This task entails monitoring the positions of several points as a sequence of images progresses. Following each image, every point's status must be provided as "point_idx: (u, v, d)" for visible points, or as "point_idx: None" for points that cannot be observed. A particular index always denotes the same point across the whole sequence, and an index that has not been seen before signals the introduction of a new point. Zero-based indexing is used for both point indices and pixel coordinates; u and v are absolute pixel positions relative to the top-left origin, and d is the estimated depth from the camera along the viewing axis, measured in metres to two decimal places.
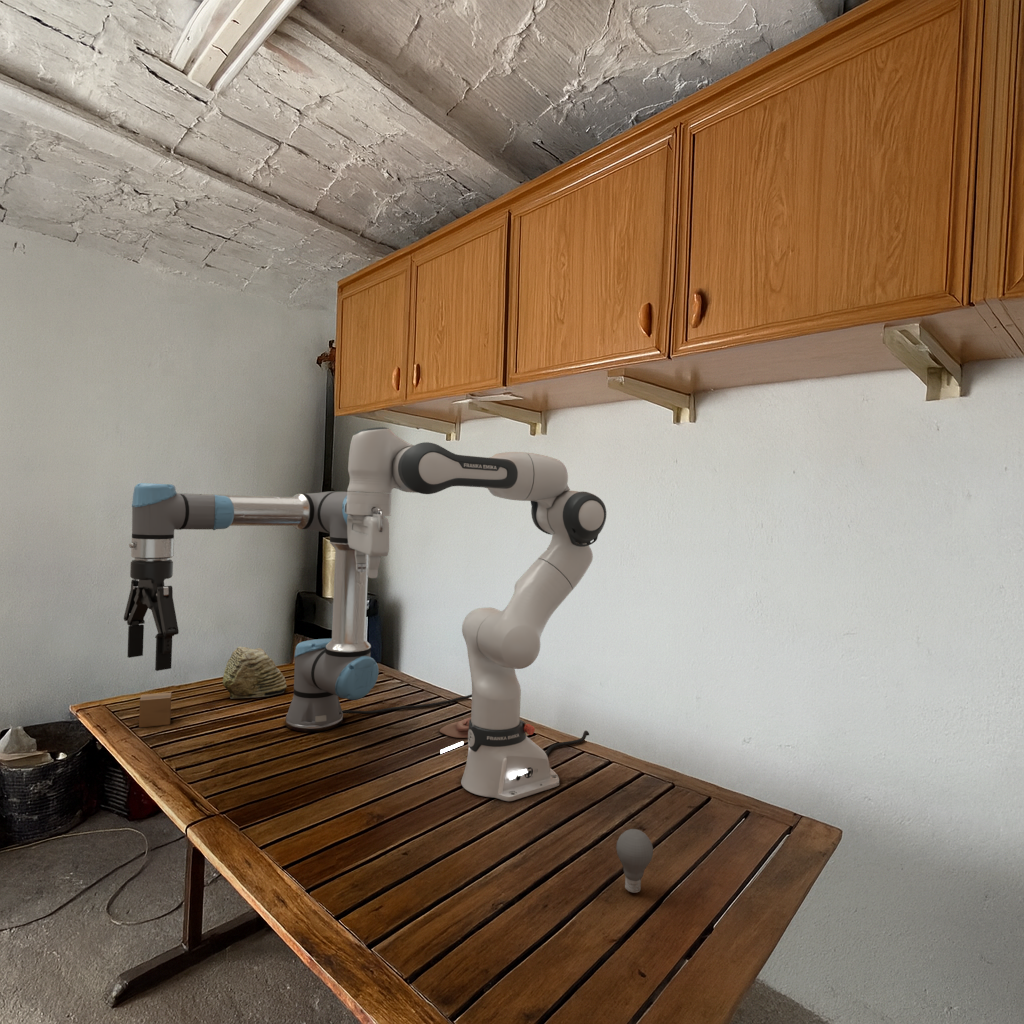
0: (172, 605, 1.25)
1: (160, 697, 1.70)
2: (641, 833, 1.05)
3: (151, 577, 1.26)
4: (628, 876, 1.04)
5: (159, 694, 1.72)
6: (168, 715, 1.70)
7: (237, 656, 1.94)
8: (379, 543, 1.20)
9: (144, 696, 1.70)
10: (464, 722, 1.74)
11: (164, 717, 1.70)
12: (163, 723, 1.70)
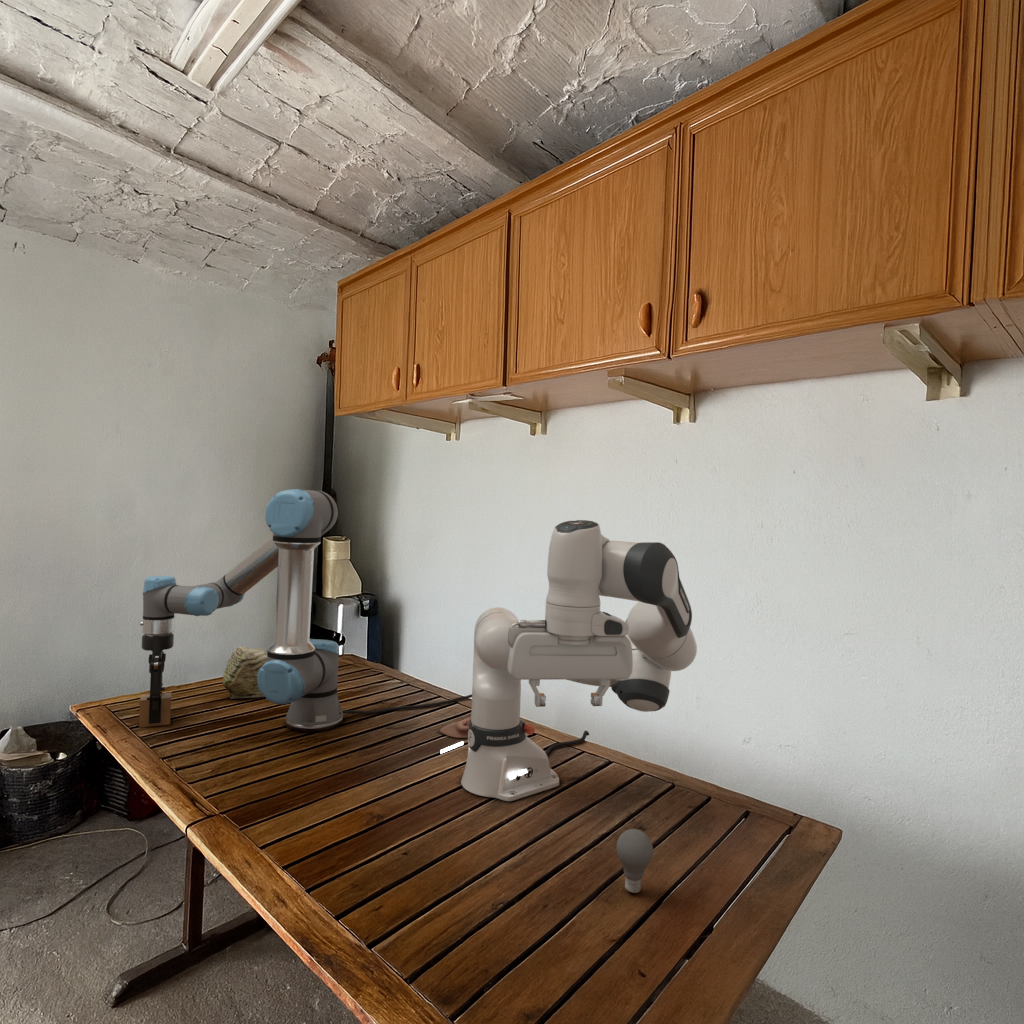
0: (159, 677, 1.66)
1: None
2: (641, 833, 1.05)
3: (150, 649, 1.67)
4: (628, 876, 1.04)
5: None
6: (168, 715, 1.70)
7: (237, 656, 1.94)
8: (509, 661, 1.01)
9: (144, 696, 1.70)
10: (464, 722, 1.74)
11: (164, 717, 1.70)
12: (163, 723, 1.70)
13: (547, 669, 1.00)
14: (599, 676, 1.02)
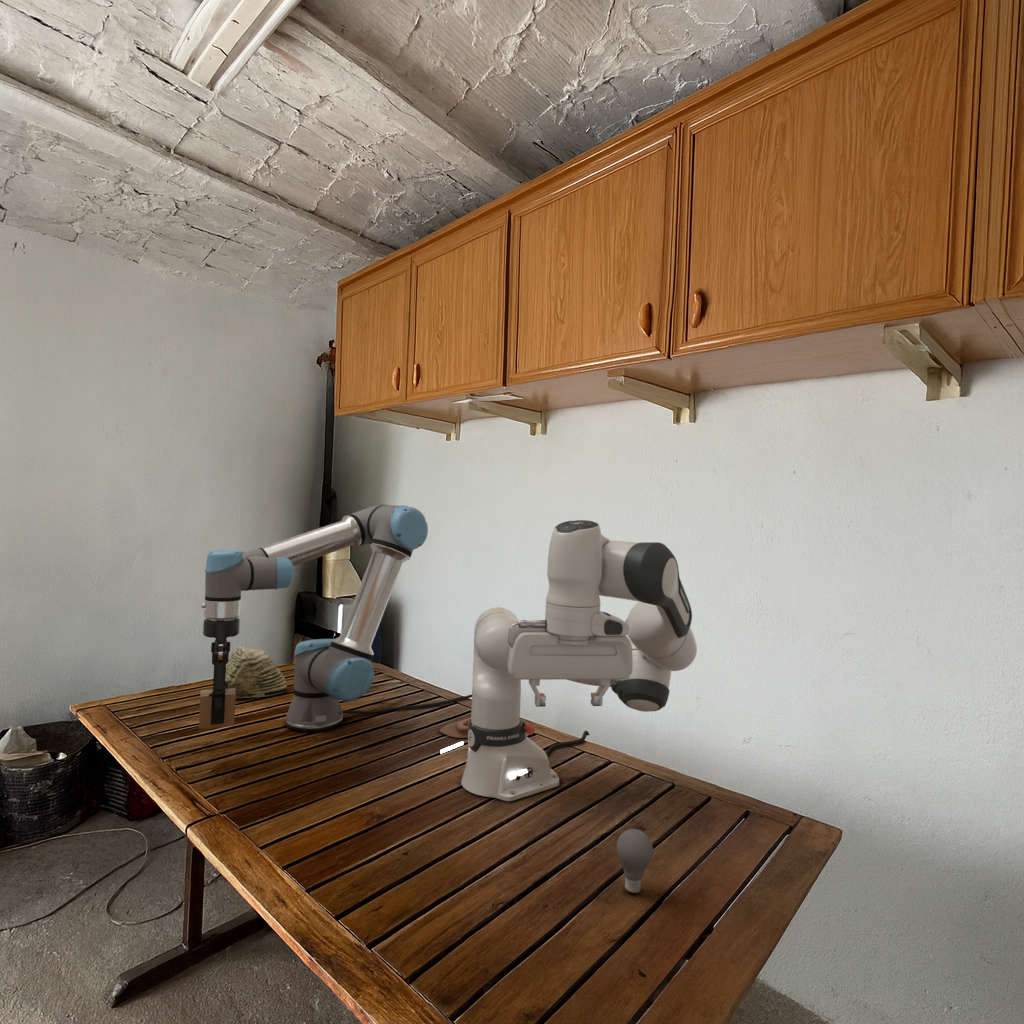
0: (224, 669, 1.39)
1: None
2: (641, 833, 1.05)
3: (214, 635, 1.41)
4: (628, 876, 1.04)
5: None
6: (232, 715, 1.44)
7: (237, 656, 1.94)
8: (509, 661, 1.01)
9: (205, 692, 1.44)
10: (464, 722, 1.74)
11: (228, 717, 1.43)
12: (226, 724, 1.43)
13: (547, 669, 1.00)
14: (599, 676, 1.02)
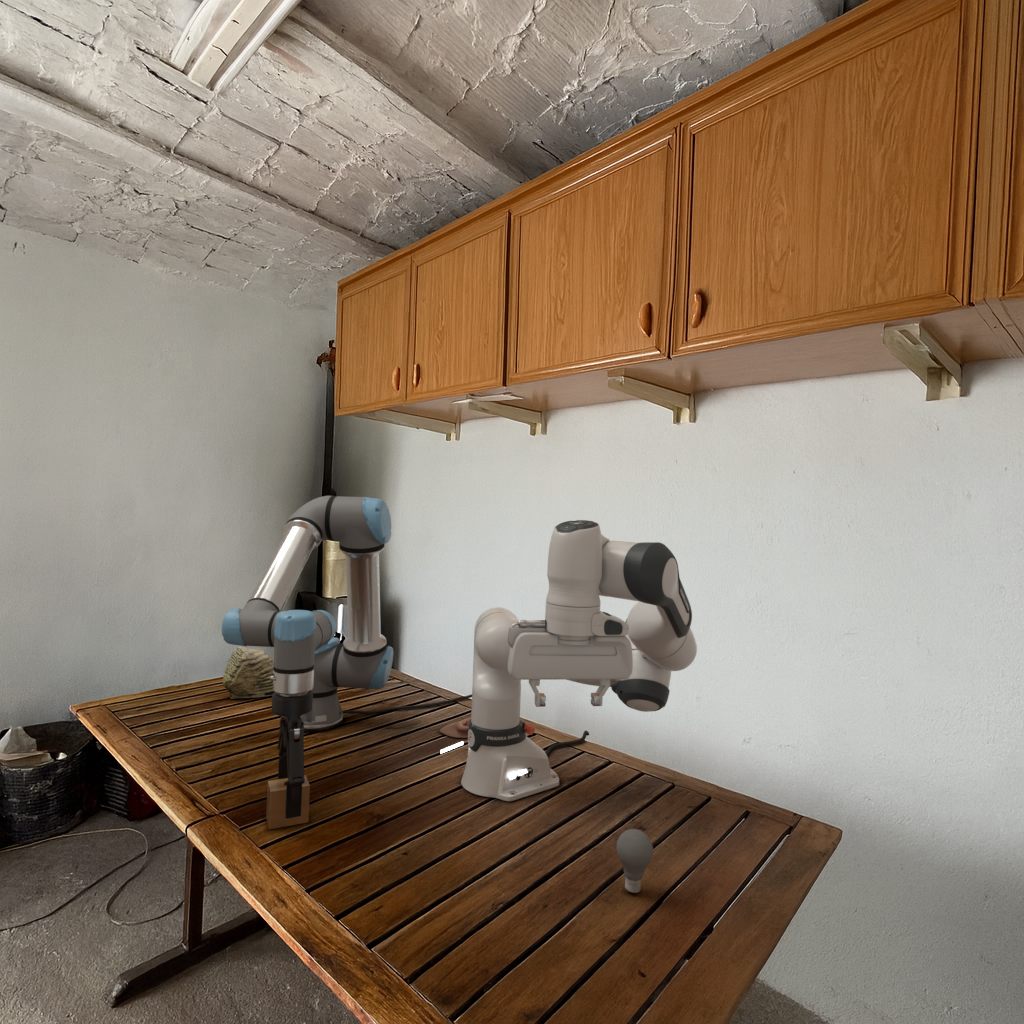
0: (302, 750, 1.17)
1: None
2: (641, 833, 1.05)
3: (287, 714, 1.20)
4: (628, 876, 1.04)
5: None
6: (306, 810, 1.23)
7: (237, 656, 1.94)
8: (509, 661, 1.01)
9: (273, 783, 1.23)
10: (464, 722, 1.74)
11: (301, 813, 1.23)
12: (300, 821, 1.22)
13: (547, 669, 1.00)
14: (599, 676, 1.02)
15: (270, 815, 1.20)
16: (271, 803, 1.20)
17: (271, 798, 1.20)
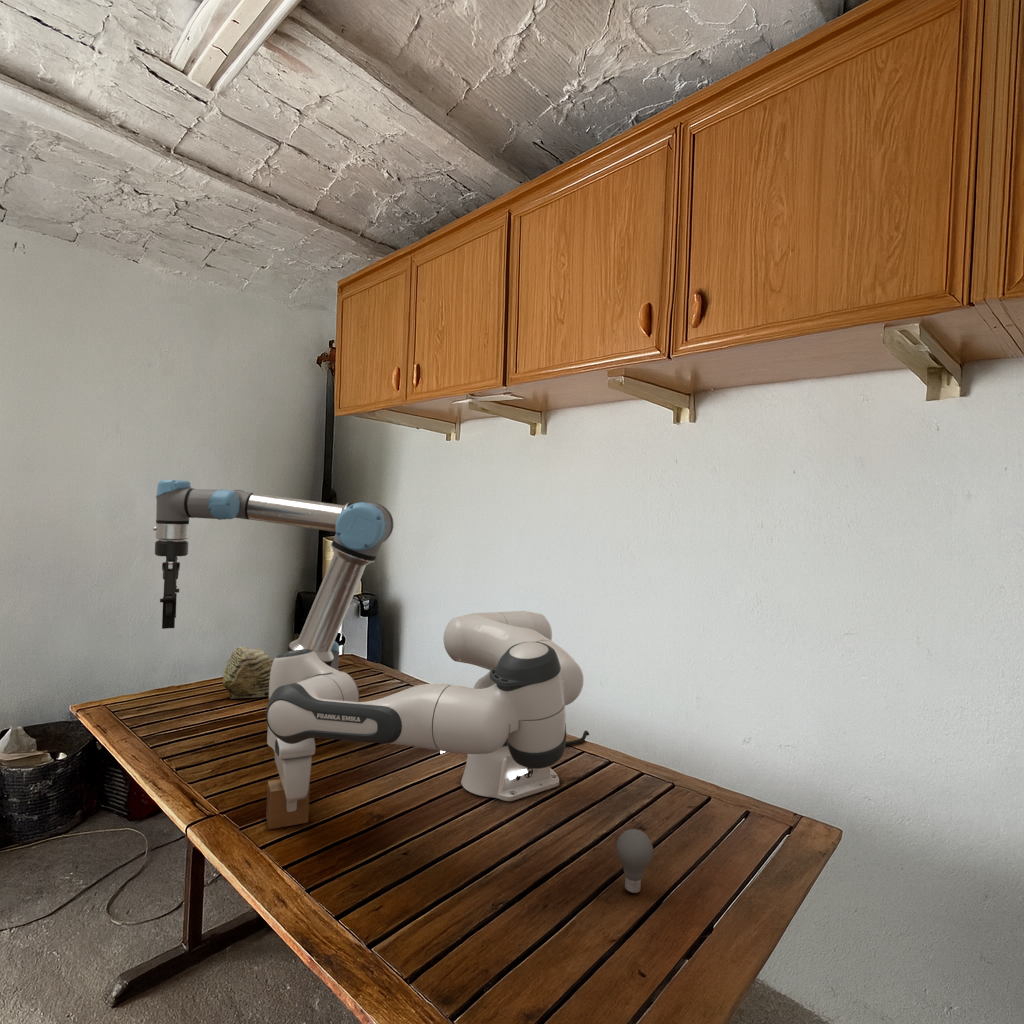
0: (174, 577, 1.56)
1: None
2: (641, 833, 1.05)
3: (164, 554, 1.58)
4: (628, 876, 1.04)
5: None
6: (306, 810, 1.23)
7: (237, 656, 1.94)
8: None
9: (273, 783, 1.23)
10: None
11: (301, 813, 1.23)
12: (300, 821, 1.22)
13: (277, 763, 1.26)
14: (283, 787, 1.19)
15: (270, 815, 1.20)
16: (271, 803, 1.20)
17: (271, 798, 1.20)
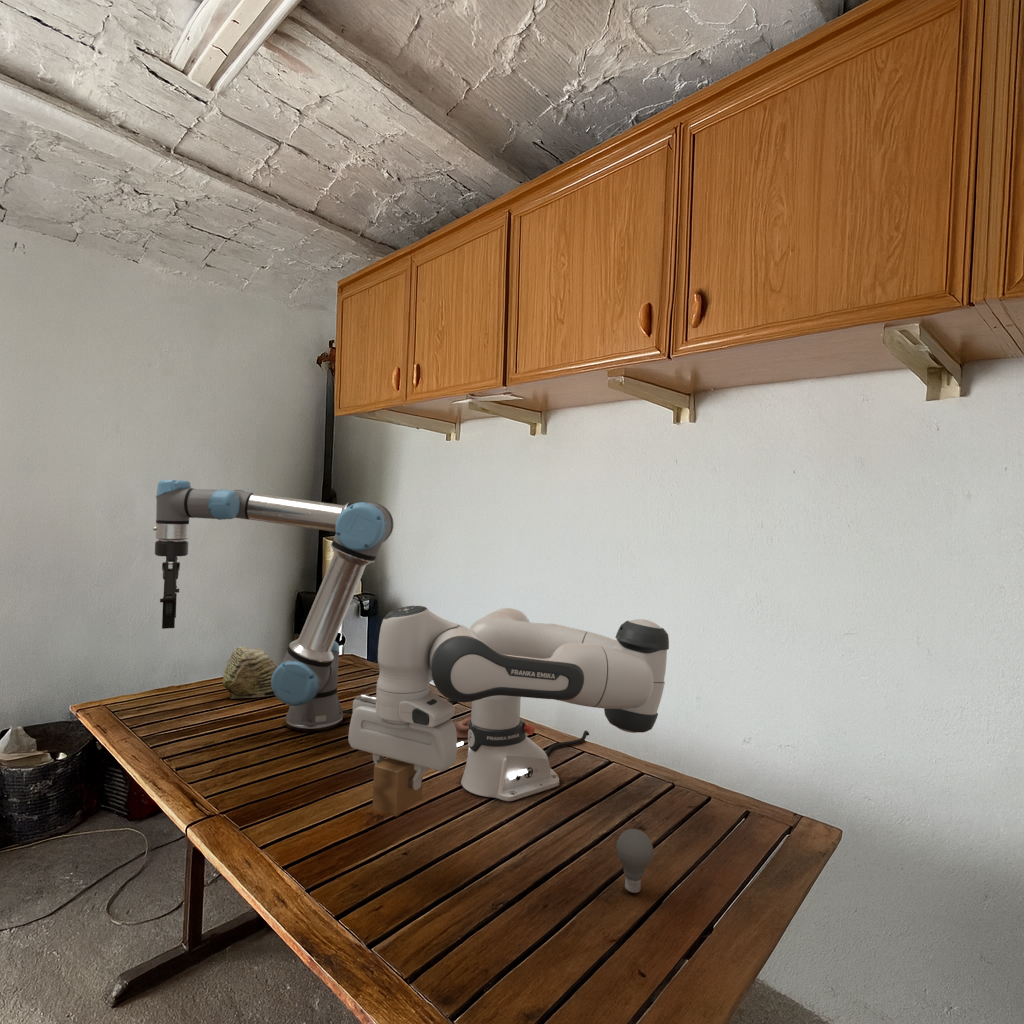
0: (174, 577, 1.56)
1: None
2: (641, 833, 1.05)
3: (164, 554, 1.58)
4: (628, 876, 1.04)
5: None
6: None
7: (237, 656, 1.94)
8: None
9: (385, 766, 1.05)
10: (464, 722, 1.74)
11: (417, 790, 1.08)
12: (416, 800, 1.08)
13: (374, 744, 1.07)
14: (416, 762, 1.04)
15: (397, 800, 1.03)
16: (398, 786, 1.03)
17: (398, 780, 1.03)
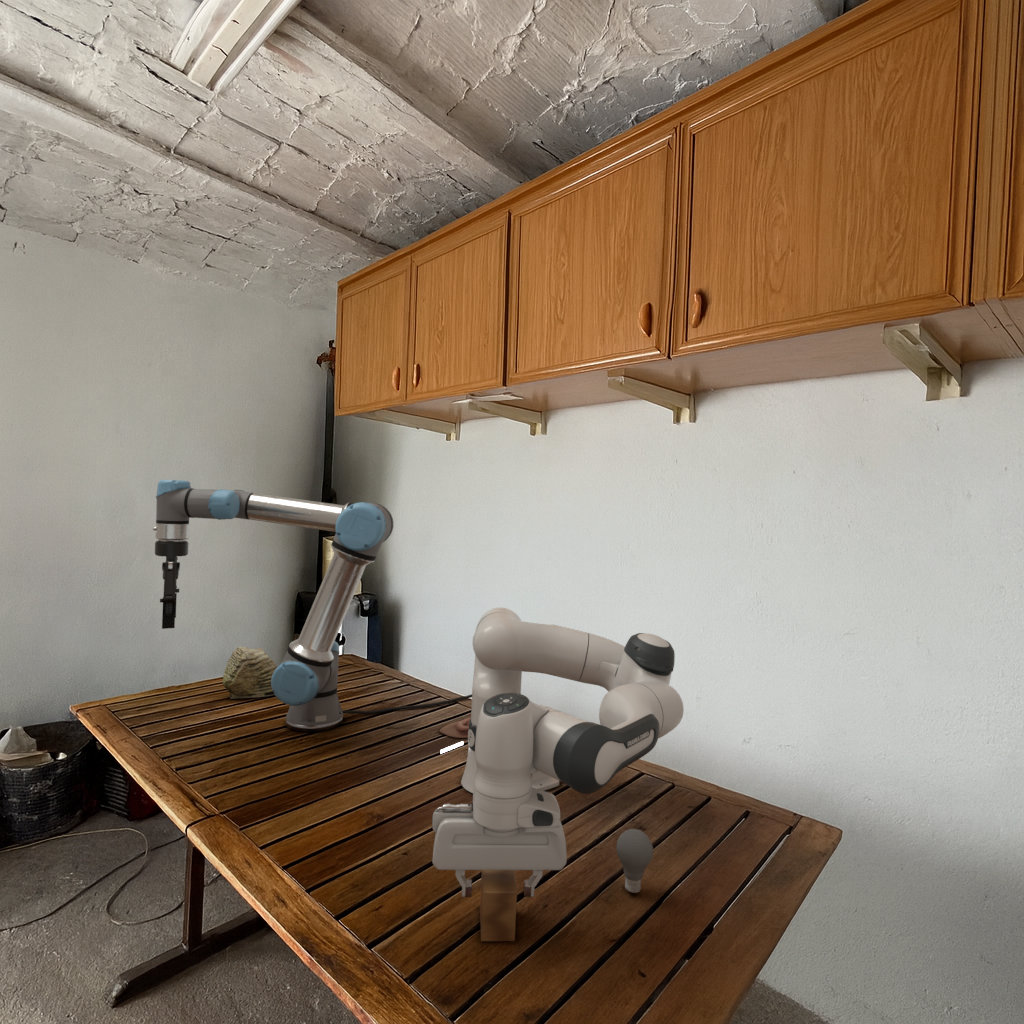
0: (174, 577, 1.56)
1: (508, 872, 0.97)
2: (641, 833, 1.05)
3: (164, 554, 1.58)
4: (628, 876, 1.04)
5: (490, 874, 0.96)
6: None
7: (237, 656, 1.94)
8: None
9: (495, 888, 0.93)
10: (464, 722, 1.74)
11: None
12: None
13: (472, 859, 0.94)
14: (529, 867, 0.94)
15: (515, 922, 0.93)
16: None
17: (516, 900, 0.93)
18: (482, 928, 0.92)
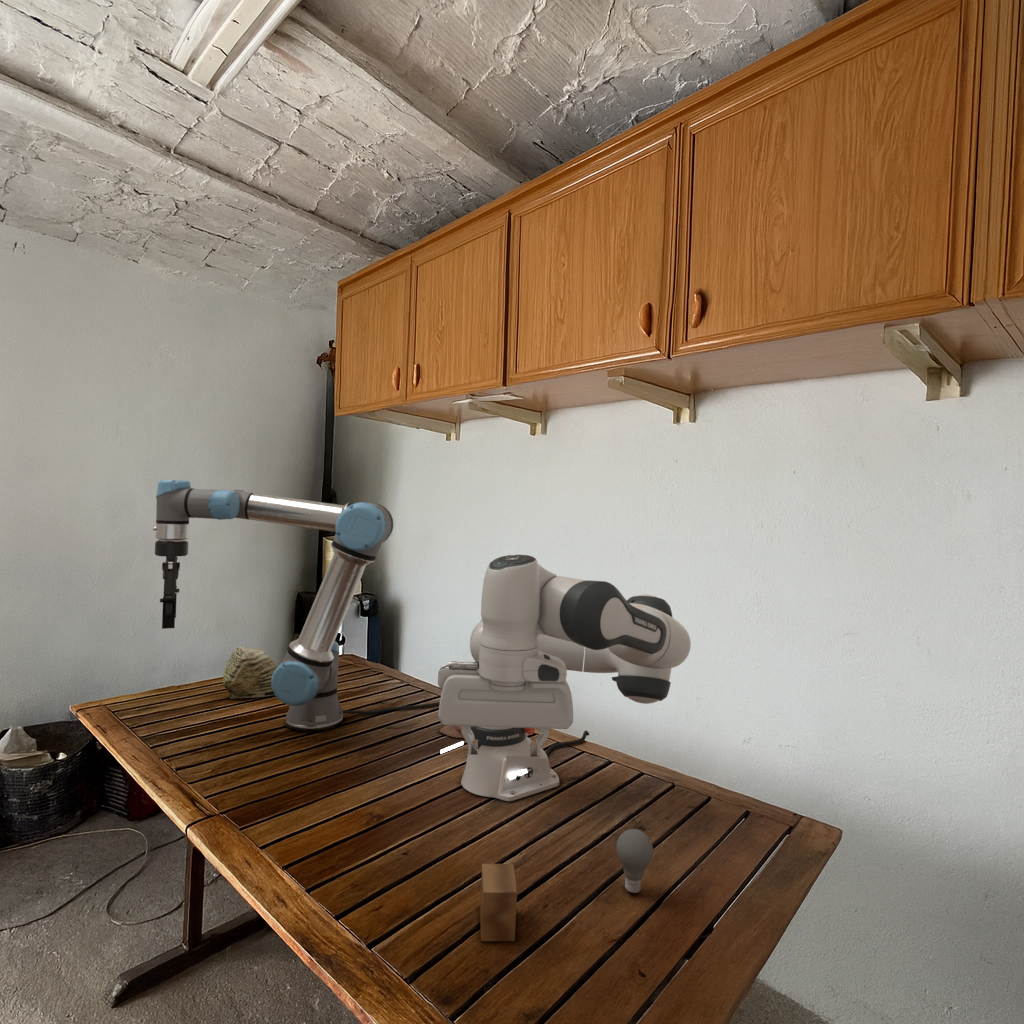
0: (174, 577, 1.56)
1: (508, 872, 0.97)
2: (641, 833, 1.05)
3: (164, 554, 1.58)
4: (628, 876, 1.04)
5: (490, 874, 0.96)
6: None
7: (237, 656, 1.94)
8: None
9: (495, 888, 0.93)
10: None
11: None
12: None
13: (478, 715, 0.94)
14: (535, 725, 0.94)
15: (515, 922, 0.93)
16: None
17: (516, 900, 0.93)
18: (482, 928, 0.92)
